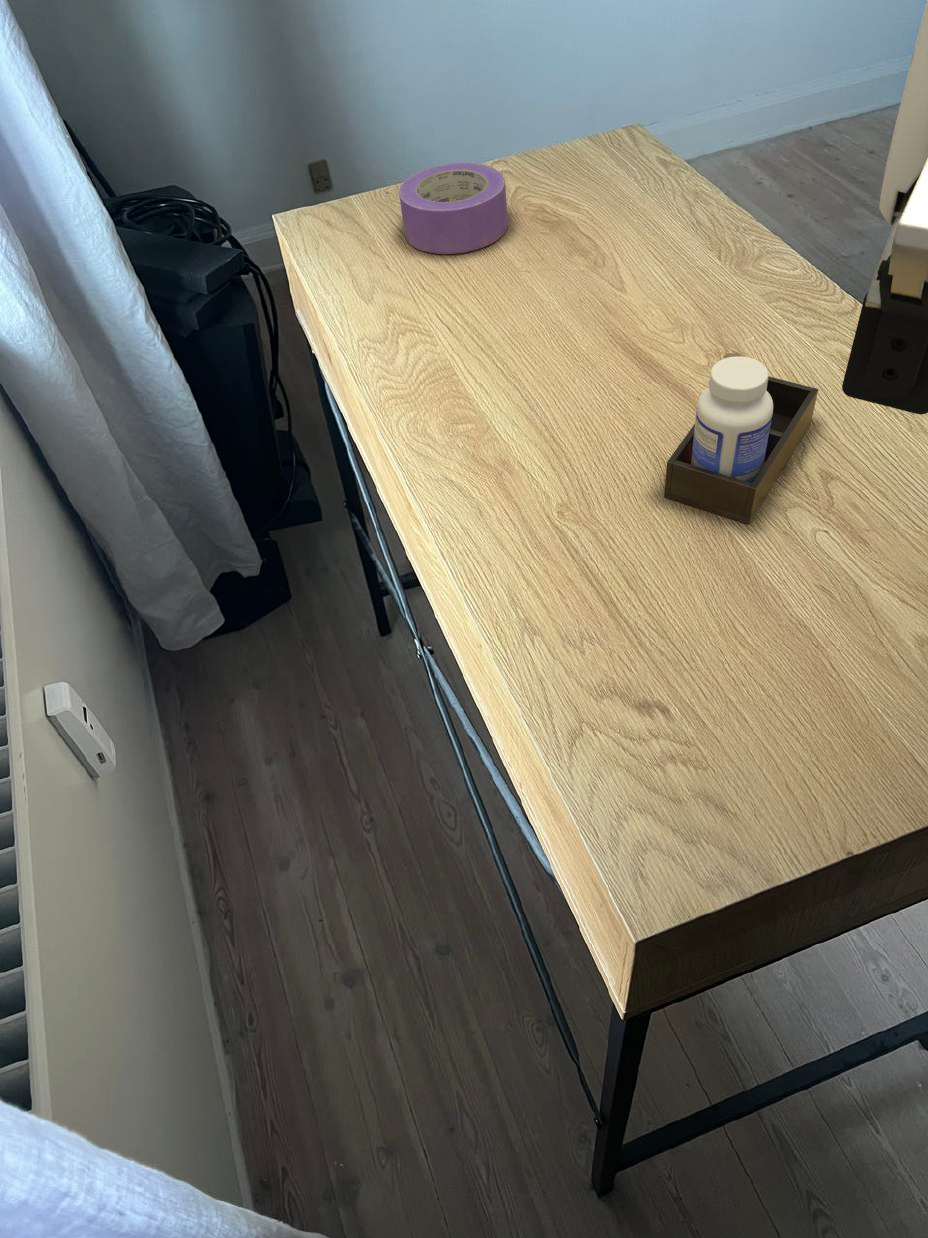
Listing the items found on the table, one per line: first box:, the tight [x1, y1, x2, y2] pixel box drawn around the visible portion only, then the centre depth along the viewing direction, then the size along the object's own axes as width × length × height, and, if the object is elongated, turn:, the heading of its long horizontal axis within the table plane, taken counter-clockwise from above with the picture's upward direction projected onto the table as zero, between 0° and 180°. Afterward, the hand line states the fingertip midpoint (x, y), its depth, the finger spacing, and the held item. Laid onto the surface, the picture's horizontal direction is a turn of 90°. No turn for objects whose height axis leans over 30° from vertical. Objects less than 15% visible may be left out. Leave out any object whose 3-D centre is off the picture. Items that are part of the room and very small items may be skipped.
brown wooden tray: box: [663, 375, 819, 525], centre depth 74 cm, size 7×14×4 cm, turn 147°
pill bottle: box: [691, 355, 773, 484], centre depth 69 cm, size 5×5×10 cm
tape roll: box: [398, 162, 509, 255], centre depth 103 cm, size 12×12×5 cm
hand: (923, 333), depth 37 cm, fingers open, 9 cm apart
